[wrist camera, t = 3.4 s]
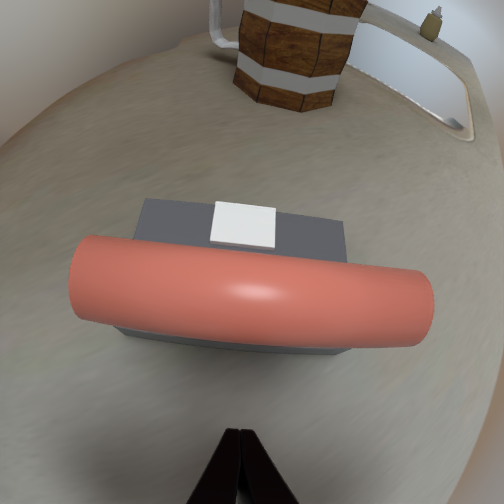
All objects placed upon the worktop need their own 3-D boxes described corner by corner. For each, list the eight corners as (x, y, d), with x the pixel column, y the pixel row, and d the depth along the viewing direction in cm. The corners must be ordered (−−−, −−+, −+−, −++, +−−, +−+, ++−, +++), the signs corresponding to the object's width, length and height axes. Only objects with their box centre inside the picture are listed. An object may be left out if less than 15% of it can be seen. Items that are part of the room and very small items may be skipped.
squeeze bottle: (426, 40, 73) (441, 7, 57) (414, 31, 76) (427, -1, 60) (438, 45, 75) (452, 14, 59) (425, 36, 78) (439, 6, 62)
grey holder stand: (335, 354, 18) (367, 342, 14) (125, 334, 17) (100, 317, 13) (330, 238, 22) (353, 205, 18) (151, 218, 21) (140, 179, 17)
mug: (348, 89, 35) (381, 1, 21) (308, 127, 29) (349, 2, 15) (235, 44, 38) (245, -35, 25) (175, 71, 32) (175, -30, 19)
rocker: (306, 316, 16) (429, 352, 6) (165, 302, 16) (65, 323, 5) (310, 281, 16) (436, 267, 6) (169, 266, 16) (76, 227, 5)
